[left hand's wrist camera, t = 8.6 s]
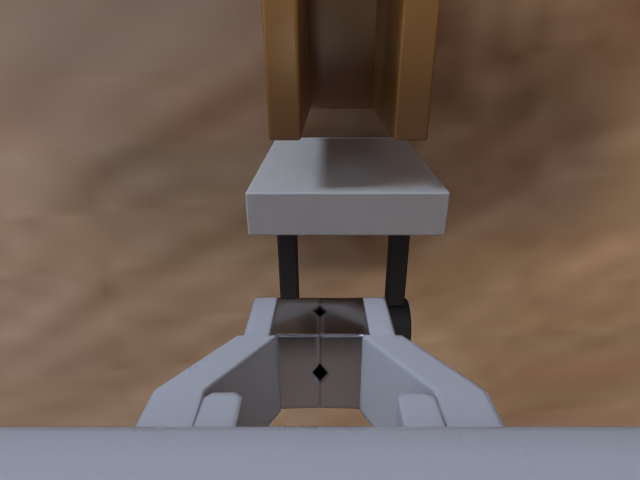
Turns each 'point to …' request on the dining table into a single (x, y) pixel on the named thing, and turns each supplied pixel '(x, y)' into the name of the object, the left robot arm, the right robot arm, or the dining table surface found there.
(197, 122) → the dining table surface
